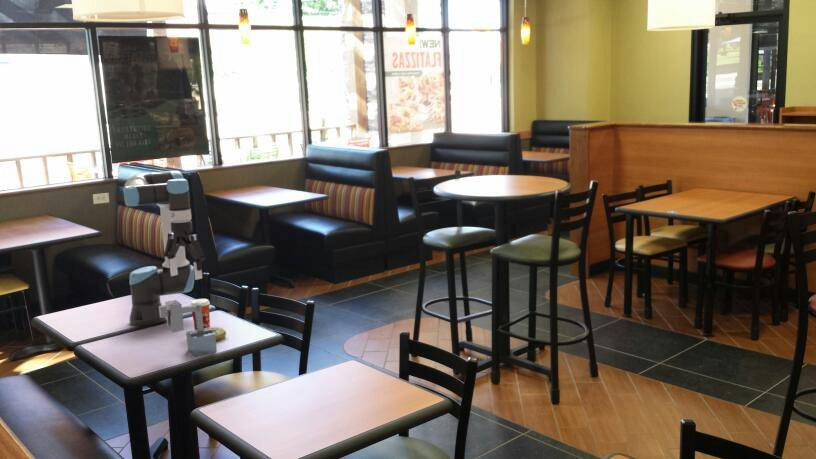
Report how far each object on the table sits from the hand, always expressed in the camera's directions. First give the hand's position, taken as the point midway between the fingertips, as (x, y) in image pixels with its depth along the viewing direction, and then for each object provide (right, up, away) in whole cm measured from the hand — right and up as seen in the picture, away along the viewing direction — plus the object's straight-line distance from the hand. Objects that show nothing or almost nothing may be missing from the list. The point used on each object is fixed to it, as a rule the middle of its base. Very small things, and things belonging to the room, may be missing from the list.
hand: (186, 277), depth 275 cm
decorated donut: (+5, -26, +19) cm, 33 cm away
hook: (-3, -19, -2) cm, 19 cm away
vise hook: (0, -29, +2) cm, 29 cm away
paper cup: (-1, -25, +25) cm, 36 cm away
